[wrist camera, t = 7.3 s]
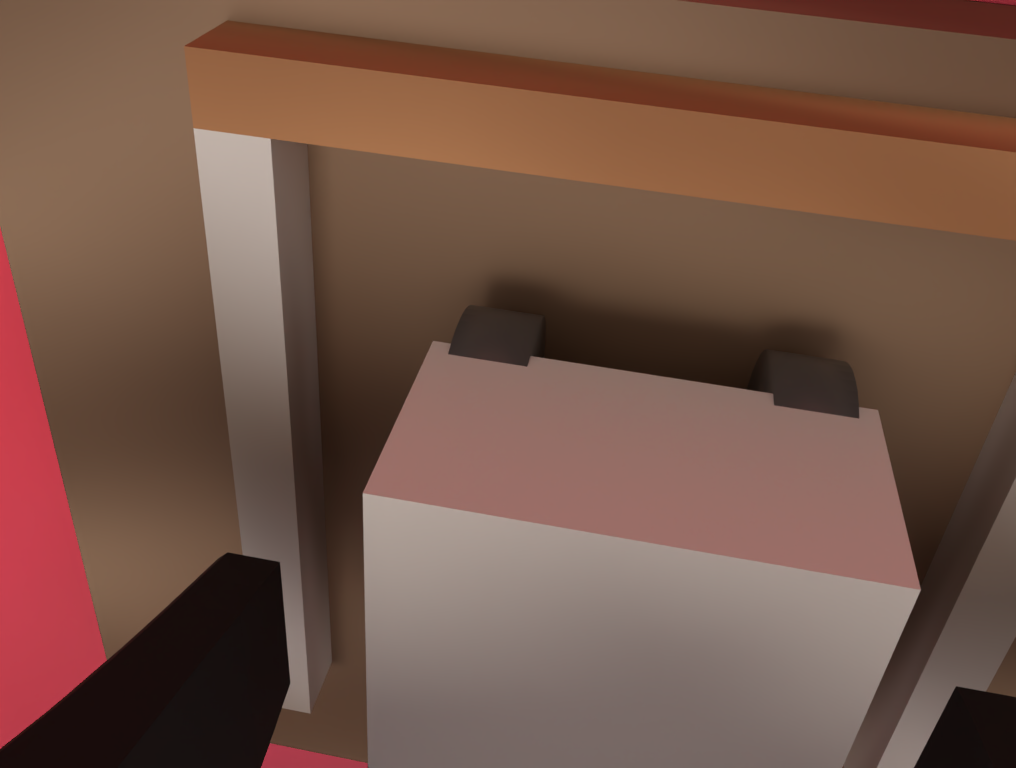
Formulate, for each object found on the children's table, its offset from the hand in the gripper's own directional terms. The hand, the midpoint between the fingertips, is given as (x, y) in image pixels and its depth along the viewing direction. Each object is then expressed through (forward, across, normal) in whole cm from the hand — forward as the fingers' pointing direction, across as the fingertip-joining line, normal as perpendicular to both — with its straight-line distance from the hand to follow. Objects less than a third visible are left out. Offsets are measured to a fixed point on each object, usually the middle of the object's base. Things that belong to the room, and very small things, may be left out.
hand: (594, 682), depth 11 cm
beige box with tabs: (+3, 0, 0) cm, 3 cm away
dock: (+4, 0, 0) cm, 4 cm away
